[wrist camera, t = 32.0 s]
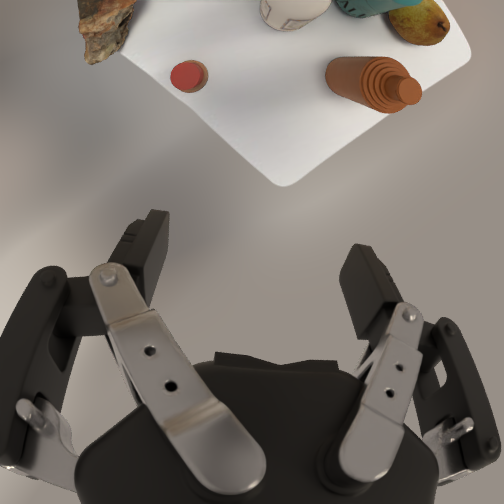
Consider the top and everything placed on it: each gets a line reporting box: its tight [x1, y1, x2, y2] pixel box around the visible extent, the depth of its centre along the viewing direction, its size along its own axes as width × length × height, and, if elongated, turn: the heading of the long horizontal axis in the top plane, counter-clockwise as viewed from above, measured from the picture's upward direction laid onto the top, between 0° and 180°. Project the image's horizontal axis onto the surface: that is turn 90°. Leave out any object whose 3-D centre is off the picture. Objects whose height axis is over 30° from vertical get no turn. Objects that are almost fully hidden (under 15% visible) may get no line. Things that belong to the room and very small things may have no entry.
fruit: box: [389, 0, 450, 46], centre depth 23 cm, size 9×9×12 cm
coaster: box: [179, 60, 208, 93], centre depth 34 cm, size 5×5×1 cm
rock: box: [77, 0, 137, 65], centre depth 25 cm, size 12×12×10 cm
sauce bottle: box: [325, 57, 422, 114], centre depth 27 cm, size 6×6×19 cm
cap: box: [170, 62, 204, 90], centre depth 33 cm, size 4×4×3 cm
